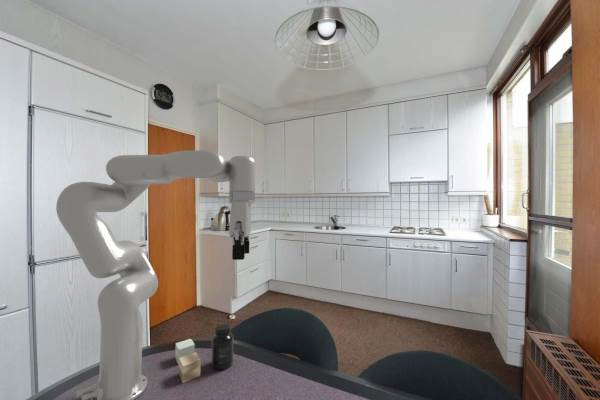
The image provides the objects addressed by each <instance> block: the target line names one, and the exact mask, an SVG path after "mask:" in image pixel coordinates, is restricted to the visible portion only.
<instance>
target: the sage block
mask: <svg viewBox="0 0 600 400" xmlns="http://www.w3.org/2000/svg"><path fill="white" fill-rule="evenodd" d="M174 347H175V355H174V356H175V358H174V359H175V361H176V363H177V364H178V366H179V358H181V357H184V356H186V355H189V354H192V353H195V351H196V344H195V343H194V341H193V340H192V338H188V339H185V340H183V341H178V342H175V346H174Z"/></svg>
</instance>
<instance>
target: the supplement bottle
mask: <svg viewBox="0 0 600 400" xmlns="http://www.w3.org/2000/svg"><path fill="white" fill-rule="evenodd" d="M214 330H215V331H214V335H213V337H212V338H211V367H212V368H213V369H214V370H216V371H217V370H218V371H222V370H226V369H229V368H230V367H231V366H232V365H233V364H234V363H233V362H234V335H233V333H232V332H231V325H230V324H227V323H221V324H218V325H216V326H215V329H214Z"/></svg>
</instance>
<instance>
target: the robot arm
mask: <svg viewBox="0 0 600 400" xmlns="http://www.w3.org/2000/svg"><path fill="white" fill-rule="evenodd" d="M105 166H106V167H105V171H106V174H107V175H108V178H110V180H112V181H113V183H112V184H107V183H101V182H95V181H94V182H93V181H79V182H75V183H74V182H73V183H71V184H69V185H67V186H66V187H65V188H64V189H63V190H62V191H61V192H60V194H59V195H58V198H57V201H56V206H55V207H56V208H55V209H56V210H55V211H56V215H57V217H58V220H59V222H60V223H61V226H62V227H63V228H64V230H65V231H66V233H67V234H68V237H70V239H71V240H72V243H74V246H75V248H76V250H77V252H78V254H79V256H80V258H81V260H82V262H83V263H84V265H85V267H86V270H87V271H88V273H89V274H90V275H91V276H92V277H94V278H96V279H107V278H111V277H114V276H117V275H119V278H116V279H114V280H112V281H110V282H109V283H107V284H106V285H105V286H104V287H103V288H102V289H101V290H100V293H99V294H98V297H97V309H98V314H99V319H100V321H99V322H100V344H99V345H100V349H99V350H100V351H99V369H98V370H99V371H98V373H99V376H98V378H97V382H96V383H93V384H92V385H91V386H88V387H84V388H81V389H78V390H76V392H75V400H79V399H81V400H135V399H138V397H140V396H141V395H142V394H143V393H144V392H145V390H146V388H147V387H148V378H147V376H145V375H144V374H142V365H143V364H142V362H143V361H142V359H143V357H142V356H143V331H144V329H143V326H144V325H143V317H142V314H141V313H142V312H141V311H140V305H142V303H144V302H146V301H147V300H148V299H150V298H152V297H153V296H154V295H155V293H156V292H157V290H158V288H159V279H158V276H157V274H156V271H155V270H154V268H153V266H152V264H151V263H150V260H149V259H148V257H147V254H146V253H145V251H144V250H143V248H142V247H141V246H140V245H139V244H138V243H136V242H134V241H132V240H120V241H119V240H117V239H116V237H115V235H114V234H113V231H112V230H111V228H110V226H109V225H108V224H107V222H106V221H104V220H103V219H102V218H101V217H100V216H99V215H98V213H117V212H119V211H122V210H124V209H126V208H127V207H128V206H129V205H130V204H131V205H132V203H133V202H134V201H135V200H137V198H138V197H140V196H141V195H143V193H144V192H145V191H146V190H147V189H149V188H150V186H151V185H168V184H172V183H173V181H176V180H180V179H208V180H210V181H212V182H215V183H225V182H226V183H227V182H229V183H228V184H229V187H228V188H229V191H228V203H229V204H231V205H230V215H229V230H228V231H229V232H228V234H229V237H230V238H232V251H231V252H232V253H231V254H232V256H231V258H232V260H233V261H235V260H236V261H239V260H240V261H242V260H243V261H244V260H245V254H249V253H250V234H251V232H252V231H251V229H252V204H255V203H256V161H255V159H254V158H253V157H251V156H246V155H235V156H232V157H231V158H230V159H227V158H224V157H223V156H222V155H221V154H220V153H218V152H215V151H212V150H179V151H175V152H169V153H167V154H123V155H117V156H114V157H112V158H110V159H109V160H108V161H107V163H106V165H105Z"/></svg>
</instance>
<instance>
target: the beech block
mask: <svg viewBox="0 0 600 400" xmlns="http://www.w3.org/2000/svg"><path fill="white" fill-rule="evenodd" d="M201 361H202V359H201V358H200V356H199V354H198V353H197V352H195V353H192V354H189V355H186V356H184V357H181V358H179V365H178V376H179V378H180V380H181V382H182V384H184V383H186V382H190V381H192V380H195V379H197V378H199V377H201V371H202V369H201V363H202V362H201Z"/></svg>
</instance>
